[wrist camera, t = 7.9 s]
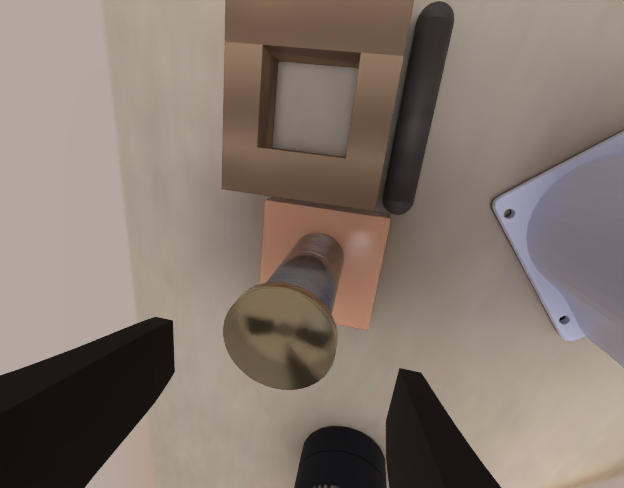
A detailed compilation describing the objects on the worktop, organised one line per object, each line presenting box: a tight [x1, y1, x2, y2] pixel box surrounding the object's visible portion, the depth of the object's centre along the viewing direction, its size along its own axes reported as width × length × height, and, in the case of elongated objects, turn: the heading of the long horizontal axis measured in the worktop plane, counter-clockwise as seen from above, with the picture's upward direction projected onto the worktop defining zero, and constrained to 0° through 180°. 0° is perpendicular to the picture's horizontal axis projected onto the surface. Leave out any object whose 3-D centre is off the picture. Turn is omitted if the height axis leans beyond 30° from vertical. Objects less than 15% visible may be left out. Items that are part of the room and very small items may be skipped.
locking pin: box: [223, 233, 344, 390], centre depth 13 cm, size 4×4×8 cm
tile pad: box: [260, 197, 391, 330], centre depth 18 cm, size 7×7×1 cm
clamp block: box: [222, 0, 454, 215], centre depth 15 cm, size 10×10×2 cm
